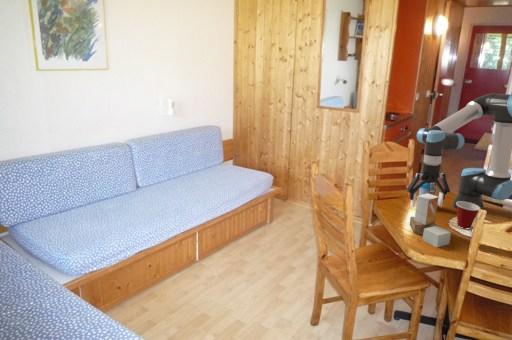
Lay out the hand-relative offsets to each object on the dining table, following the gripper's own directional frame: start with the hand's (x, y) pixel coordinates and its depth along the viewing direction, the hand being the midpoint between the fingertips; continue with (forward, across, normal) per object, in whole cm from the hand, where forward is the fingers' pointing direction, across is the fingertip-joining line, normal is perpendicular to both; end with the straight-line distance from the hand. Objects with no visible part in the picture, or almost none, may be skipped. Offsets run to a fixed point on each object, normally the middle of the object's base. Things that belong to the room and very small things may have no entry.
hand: (426, 205), depth 186 cm
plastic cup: (+13, +23, +3) cm, 27 cm away
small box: (+8, 0, 0) cm, 8 cm away
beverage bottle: (+13, +16, +31) cm, 37 cm away
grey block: (+13, 0, -13) cm, 18 cm away
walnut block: (+13, 0, 0) cm, 13 cm away
